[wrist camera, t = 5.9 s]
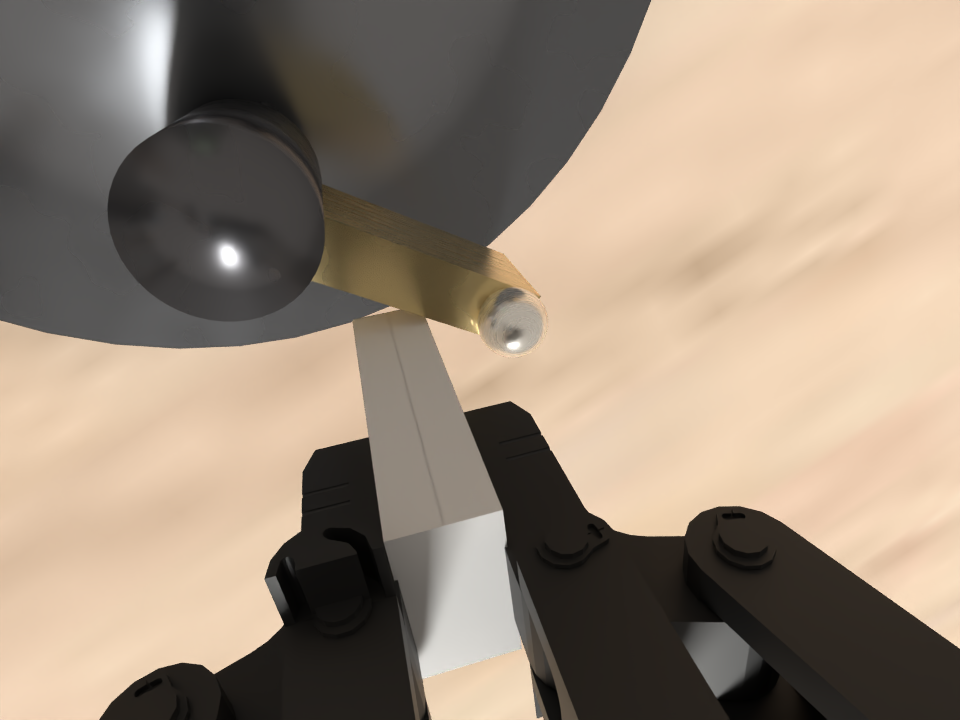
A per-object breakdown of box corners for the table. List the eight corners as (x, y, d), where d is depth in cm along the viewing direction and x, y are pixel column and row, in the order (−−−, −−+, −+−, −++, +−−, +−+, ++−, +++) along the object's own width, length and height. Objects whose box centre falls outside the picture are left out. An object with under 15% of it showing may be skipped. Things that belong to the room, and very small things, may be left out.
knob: (148, 221, 13) (80, 297, 9) (183, 71, 12) (122, 86, 8) (470, 325, 16) (518, 415, 12) (521, 213, 15) (592, 273, 11)
